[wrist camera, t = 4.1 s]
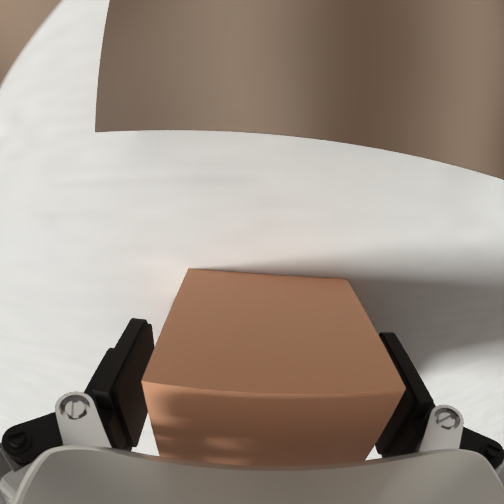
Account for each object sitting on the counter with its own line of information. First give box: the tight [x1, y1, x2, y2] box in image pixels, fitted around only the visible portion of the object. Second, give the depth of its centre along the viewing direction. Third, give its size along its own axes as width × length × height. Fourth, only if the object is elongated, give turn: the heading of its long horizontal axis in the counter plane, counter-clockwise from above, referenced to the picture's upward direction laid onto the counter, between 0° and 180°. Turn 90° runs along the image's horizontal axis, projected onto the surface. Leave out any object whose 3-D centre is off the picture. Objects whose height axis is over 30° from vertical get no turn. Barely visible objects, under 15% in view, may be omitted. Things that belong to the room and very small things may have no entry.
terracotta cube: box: [141, 269, 406, 466], centre depth 10 cm, size 6×6×6 cm
